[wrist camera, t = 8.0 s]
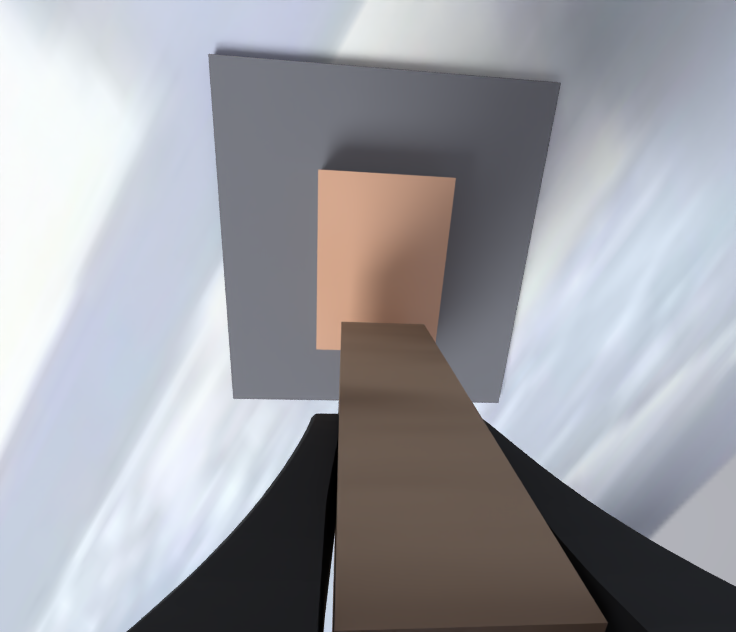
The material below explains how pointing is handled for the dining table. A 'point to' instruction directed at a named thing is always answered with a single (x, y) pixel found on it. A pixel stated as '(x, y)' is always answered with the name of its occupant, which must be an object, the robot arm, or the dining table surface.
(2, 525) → the dining table surface
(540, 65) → the dining table surface
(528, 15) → the dining table surface
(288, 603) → the robot arm
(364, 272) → the tile
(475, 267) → the mat
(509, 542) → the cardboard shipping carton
